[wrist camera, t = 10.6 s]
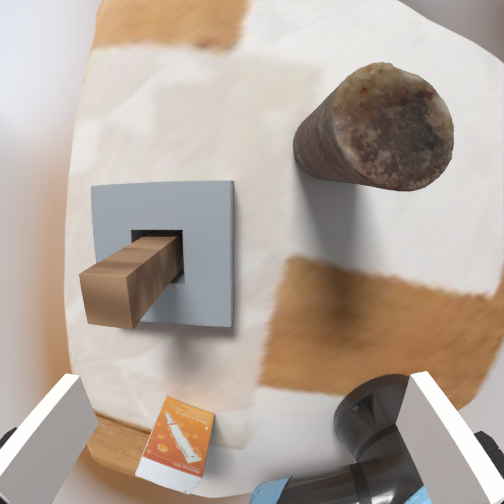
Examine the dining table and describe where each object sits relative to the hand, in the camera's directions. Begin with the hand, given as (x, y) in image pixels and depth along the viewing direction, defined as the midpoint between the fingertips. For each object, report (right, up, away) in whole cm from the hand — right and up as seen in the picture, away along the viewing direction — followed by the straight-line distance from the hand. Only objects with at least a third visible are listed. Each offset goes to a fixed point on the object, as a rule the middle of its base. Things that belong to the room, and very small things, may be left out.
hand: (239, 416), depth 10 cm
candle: (+8, +18, +22) cm, 30 cm away
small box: (-10, -20, +32) cm, 39 cm away
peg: (-10, +6, +25) cm, 28 cm away
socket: (-10, +6, +25) cm, 28 cm away
